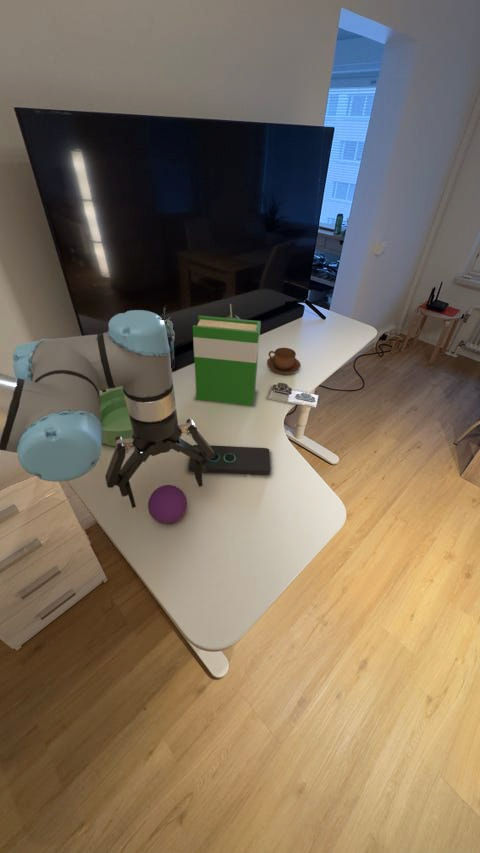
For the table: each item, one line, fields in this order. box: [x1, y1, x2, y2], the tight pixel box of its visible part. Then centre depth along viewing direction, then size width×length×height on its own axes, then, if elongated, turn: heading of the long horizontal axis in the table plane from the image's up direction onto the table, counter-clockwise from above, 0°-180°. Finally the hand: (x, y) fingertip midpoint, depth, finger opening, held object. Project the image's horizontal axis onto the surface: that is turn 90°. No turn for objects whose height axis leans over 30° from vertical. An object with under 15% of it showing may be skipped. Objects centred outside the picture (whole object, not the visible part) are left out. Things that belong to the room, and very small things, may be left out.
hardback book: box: [192, 315, 262, 407], centre depth 101 cm, size 18×7×24 cm, turn 83°
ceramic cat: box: [162, 306, 175, 371], centre depth 118 cm, size 20×6×20 cm, turn 3°
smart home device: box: [188, 444, 271, 476], centre depth 87 cm, size 8×2×20 cm
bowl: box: [99, 386, 133, 447], centre depth 95 cm, size 20×20×6 cm
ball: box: [147, 484, 188, 525], centre depth 72 cm, size 8×8×8 cm
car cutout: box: [268, 382, 319, 409], centre depth 108 cm, size 15×7×4 cm, turn 74°
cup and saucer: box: [266, 347, 302, 375], centre depth 121 cm, size 12×12×6 cm
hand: (166, 491), depth 69 cm, fingers open, 13 cm apart
